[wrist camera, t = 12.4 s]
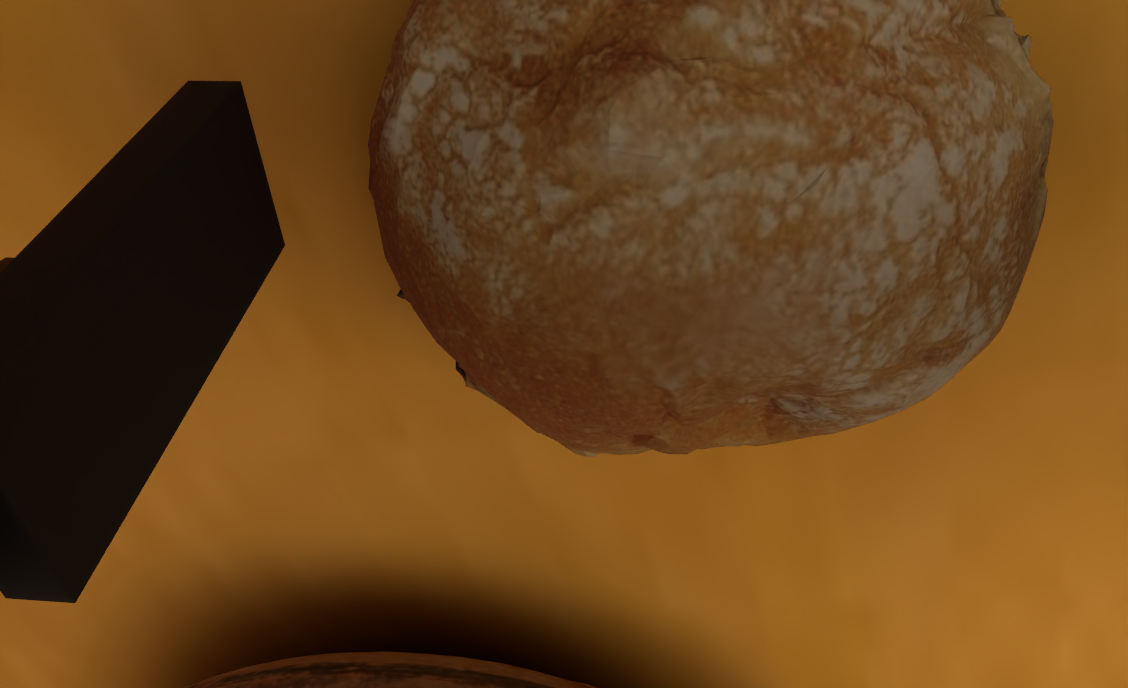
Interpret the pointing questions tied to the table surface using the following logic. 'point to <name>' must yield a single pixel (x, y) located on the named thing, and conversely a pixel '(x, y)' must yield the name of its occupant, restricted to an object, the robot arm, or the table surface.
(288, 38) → the table surface
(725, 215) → the bread roll
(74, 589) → the robot arm
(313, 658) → the ceramic bowl
